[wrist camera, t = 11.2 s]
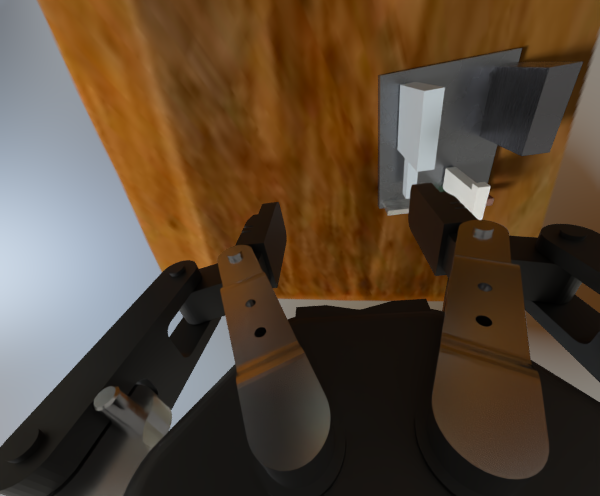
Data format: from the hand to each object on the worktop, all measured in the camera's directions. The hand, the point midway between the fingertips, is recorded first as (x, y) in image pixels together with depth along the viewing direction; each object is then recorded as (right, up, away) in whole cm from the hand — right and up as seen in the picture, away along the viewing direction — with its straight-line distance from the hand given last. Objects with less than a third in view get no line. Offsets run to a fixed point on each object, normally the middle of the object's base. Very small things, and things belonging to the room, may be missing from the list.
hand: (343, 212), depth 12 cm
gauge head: (+9, +10, +15) cm, 20 cm away
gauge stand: (+13, +10, +16) cm, 23 cm away
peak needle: (+15, +6, +17) cm, 23 cm away
